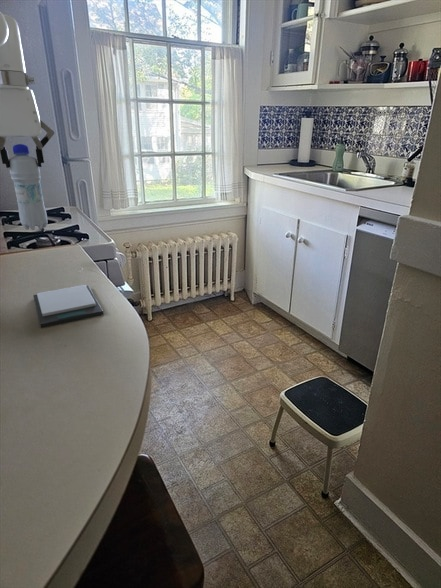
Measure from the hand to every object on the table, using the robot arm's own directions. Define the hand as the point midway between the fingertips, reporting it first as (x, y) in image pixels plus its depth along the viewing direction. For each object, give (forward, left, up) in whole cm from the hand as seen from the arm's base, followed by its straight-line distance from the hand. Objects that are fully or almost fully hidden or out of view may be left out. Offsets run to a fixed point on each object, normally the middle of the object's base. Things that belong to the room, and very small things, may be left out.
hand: (24, 166), depth 94 cm
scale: (+15, -29, -25) cm, 42 cm away
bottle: (0, 0, -15) cm, 15 cm away
